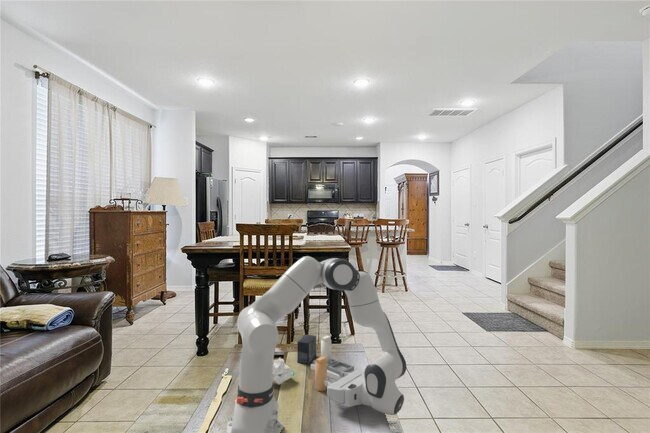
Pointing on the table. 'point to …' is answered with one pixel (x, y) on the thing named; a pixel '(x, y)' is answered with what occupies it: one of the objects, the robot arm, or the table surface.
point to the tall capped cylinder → (320, 373)
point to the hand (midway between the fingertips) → (332, 378)
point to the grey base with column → (332, 361)
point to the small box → (306, 349)
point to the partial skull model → (281, 371)
